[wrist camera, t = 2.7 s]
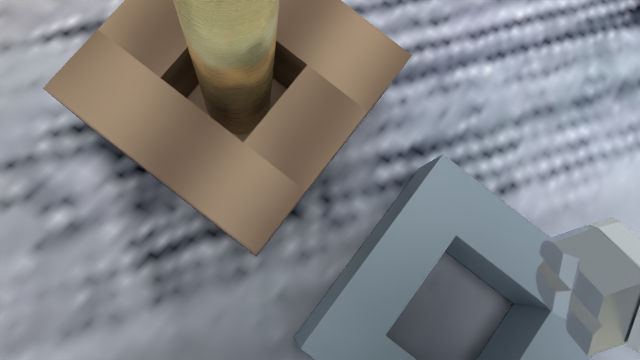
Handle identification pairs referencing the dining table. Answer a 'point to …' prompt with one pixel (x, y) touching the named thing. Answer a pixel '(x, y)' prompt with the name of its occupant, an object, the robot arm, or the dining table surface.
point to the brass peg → (232, 57)
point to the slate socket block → (419, 259)
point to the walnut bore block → (208, 135)
